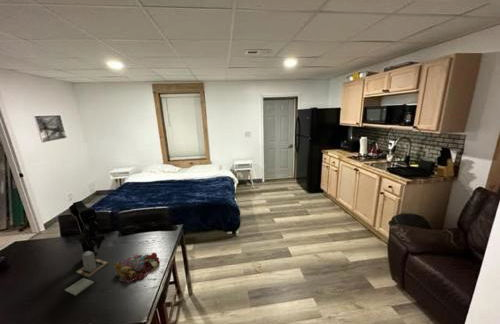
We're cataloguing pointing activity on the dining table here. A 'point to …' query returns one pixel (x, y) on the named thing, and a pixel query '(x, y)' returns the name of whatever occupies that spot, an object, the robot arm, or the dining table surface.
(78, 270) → the frame
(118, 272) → the candy landscape model
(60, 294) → the dining table surface
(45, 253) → the dining table surface
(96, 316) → the dining table surface
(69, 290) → the ceramic coaster
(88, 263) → the skincare box
